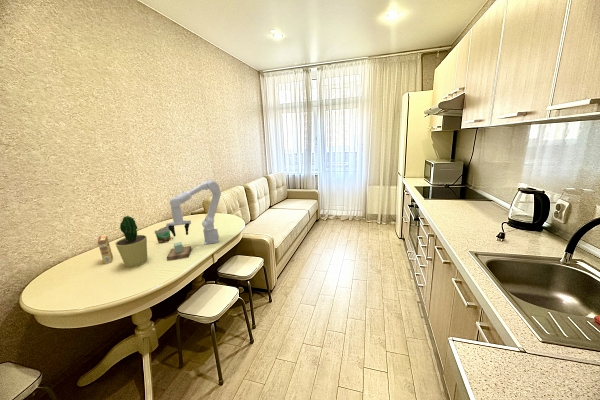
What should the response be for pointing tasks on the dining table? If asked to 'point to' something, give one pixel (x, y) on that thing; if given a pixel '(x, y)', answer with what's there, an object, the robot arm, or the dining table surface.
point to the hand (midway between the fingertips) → (181, 235)
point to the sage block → (178, 247)
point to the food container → (163, 235)
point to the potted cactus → (132, 244)
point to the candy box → (105, 249)
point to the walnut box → (180, 255)
